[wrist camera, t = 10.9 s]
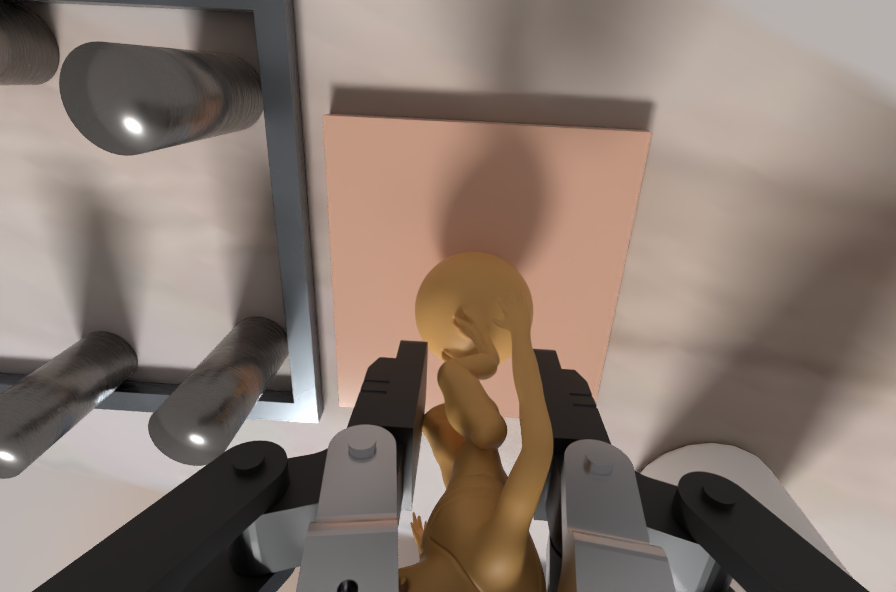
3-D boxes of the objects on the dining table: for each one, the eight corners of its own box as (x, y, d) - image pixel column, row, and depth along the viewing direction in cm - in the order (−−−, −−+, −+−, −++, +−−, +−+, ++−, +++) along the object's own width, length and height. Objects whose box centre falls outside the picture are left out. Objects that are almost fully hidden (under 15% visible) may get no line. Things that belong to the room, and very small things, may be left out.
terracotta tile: (644, 130, 17) (652, 132, 16) (587, 411, 22) (591, 423, 21) (329, 113, 17) (322, 115, 16) (343, 395, 22) (339, 406, 21)
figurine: (472, 160, 16) (198, 352, 6) (647, 227, 15) (658, 582, 5) (415, 347, 21) (201, 638, 11) (549, 409, 20) (453, 791, 10)
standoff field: (290, -22, 15) (192, -76, 10) (323, 412, 22) (275, 519, 17) (-286, -49, 16) (-682, -114, 10) (-78, 385, 23) (-250, 482, 17)
